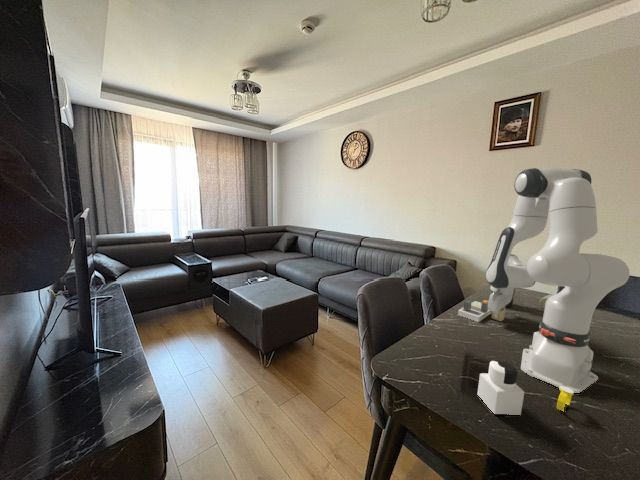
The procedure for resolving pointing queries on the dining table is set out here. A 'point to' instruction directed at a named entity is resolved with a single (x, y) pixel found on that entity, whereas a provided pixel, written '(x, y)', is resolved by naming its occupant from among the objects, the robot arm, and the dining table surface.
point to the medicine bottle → (501, 389)
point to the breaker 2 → (484, 306)
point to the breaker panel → (474, 312)
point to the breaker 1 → (467, 305)
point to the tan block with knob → (501, 315)
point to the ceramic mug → (544, 300)
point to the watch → (564, 397)
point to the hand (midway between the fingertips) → (498, 315)
